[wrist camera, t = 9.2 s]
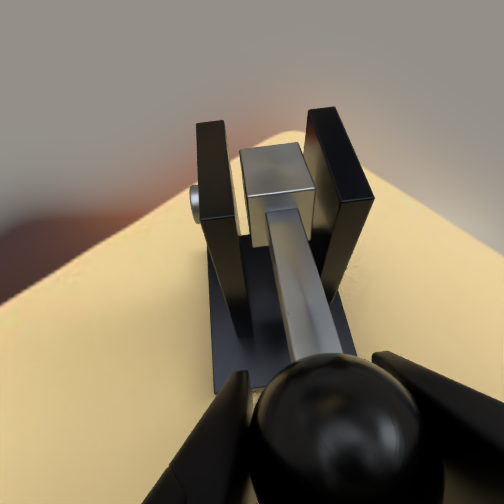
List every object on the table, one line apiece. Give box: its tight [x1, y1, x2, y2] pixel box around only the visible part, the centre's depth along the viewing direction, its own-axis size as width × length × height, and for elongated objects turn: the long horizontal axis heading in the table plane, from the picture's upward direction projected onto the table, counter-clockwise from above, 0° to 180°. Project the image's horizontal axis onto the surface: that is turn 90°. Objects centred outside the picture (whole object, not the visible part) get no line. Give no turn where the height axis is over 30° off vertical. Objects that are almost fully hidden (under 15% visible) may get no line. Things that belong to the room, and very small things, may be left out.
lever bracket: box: [190, 107, 375, 396], centre depth 15 cm, size 10×8×12 cm
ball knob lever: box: [239, 142, 445, 504], centre depth 9 cm, size 11×4×4 cm, turn 7°
